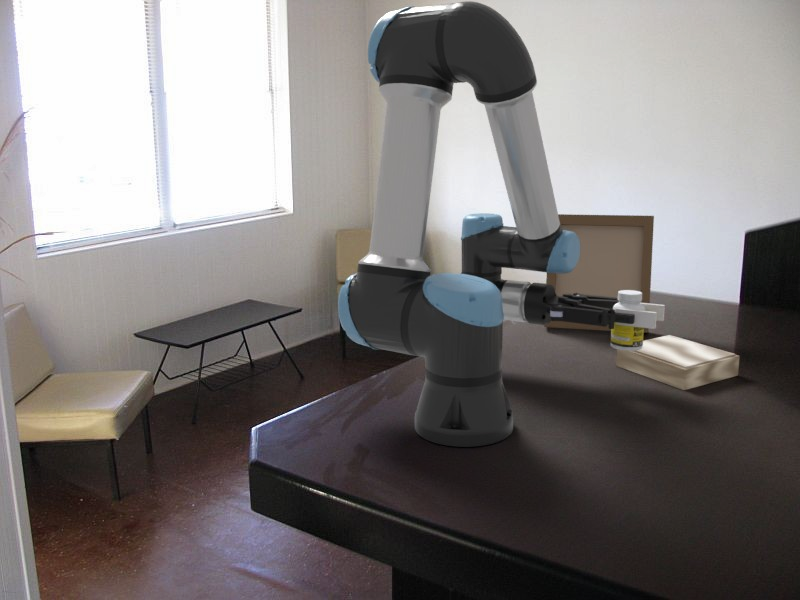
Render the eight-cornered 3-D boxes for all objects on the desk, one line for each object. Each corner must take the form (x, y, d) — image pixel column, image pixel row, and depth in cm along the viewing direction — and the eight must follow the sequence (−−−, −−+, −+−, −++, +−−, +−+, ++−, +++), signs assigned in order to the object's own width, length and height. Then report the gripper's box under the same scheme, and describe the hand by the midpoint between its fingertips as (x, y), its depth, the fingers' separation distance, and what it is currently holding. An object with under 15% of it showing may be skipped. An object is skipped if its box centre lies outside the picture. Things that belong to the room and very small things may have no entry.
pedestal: (684, 390, 137) (685, 368, 136) (616, 365, 150) (617, 345, 149) (737, 375, 144) (739, 354, 143) (668, 353, 157) (669, 333, 156)
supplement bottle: (635, 353, 134) (639, 296, 132) (605, 348, 137) (608, 292, 135) (647, 346, 138) (651, 291, 136) (617, 341, 142) (620, 287, 140)
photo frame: (648, 337, 168) (654, 219, 162) (544, 331, 174) (546, 217, 169) (648, 320, 182) (653, 210, 176) (551, 315, 188) (554, 209, 182)
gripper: (546, 312, 154) (670, 326, 143) (509, 333, 138) (645, 351, 127) (547, 274, 152) (672, 285, 141) (510, 291, 137) (648, 305, 125)
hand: (659, 316), depth 134 cm, fingers closed on supplement bottle, 5 cm apart
